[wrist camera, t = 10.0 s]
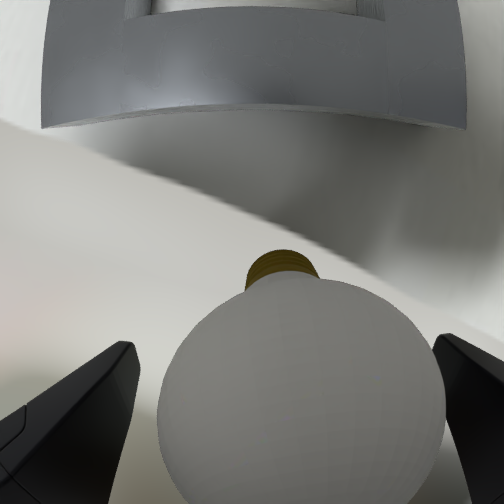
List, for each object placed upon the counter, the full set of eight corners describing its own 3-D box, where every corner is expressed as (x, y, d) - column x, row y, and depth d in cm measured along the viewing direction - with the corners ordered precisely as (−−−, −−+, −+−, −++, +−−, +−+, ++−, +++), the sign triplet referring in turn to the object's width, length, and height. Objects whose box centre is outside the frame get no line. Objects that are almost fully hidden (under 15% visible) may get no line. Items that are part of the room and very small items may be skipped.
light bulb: (222, 181, 11) (91, 434, 2) (373, 221, 11) (557, 423, 2) (194, 317, 13) (136, 551, 4) (323, 342, 14) (375, 556, 4)
